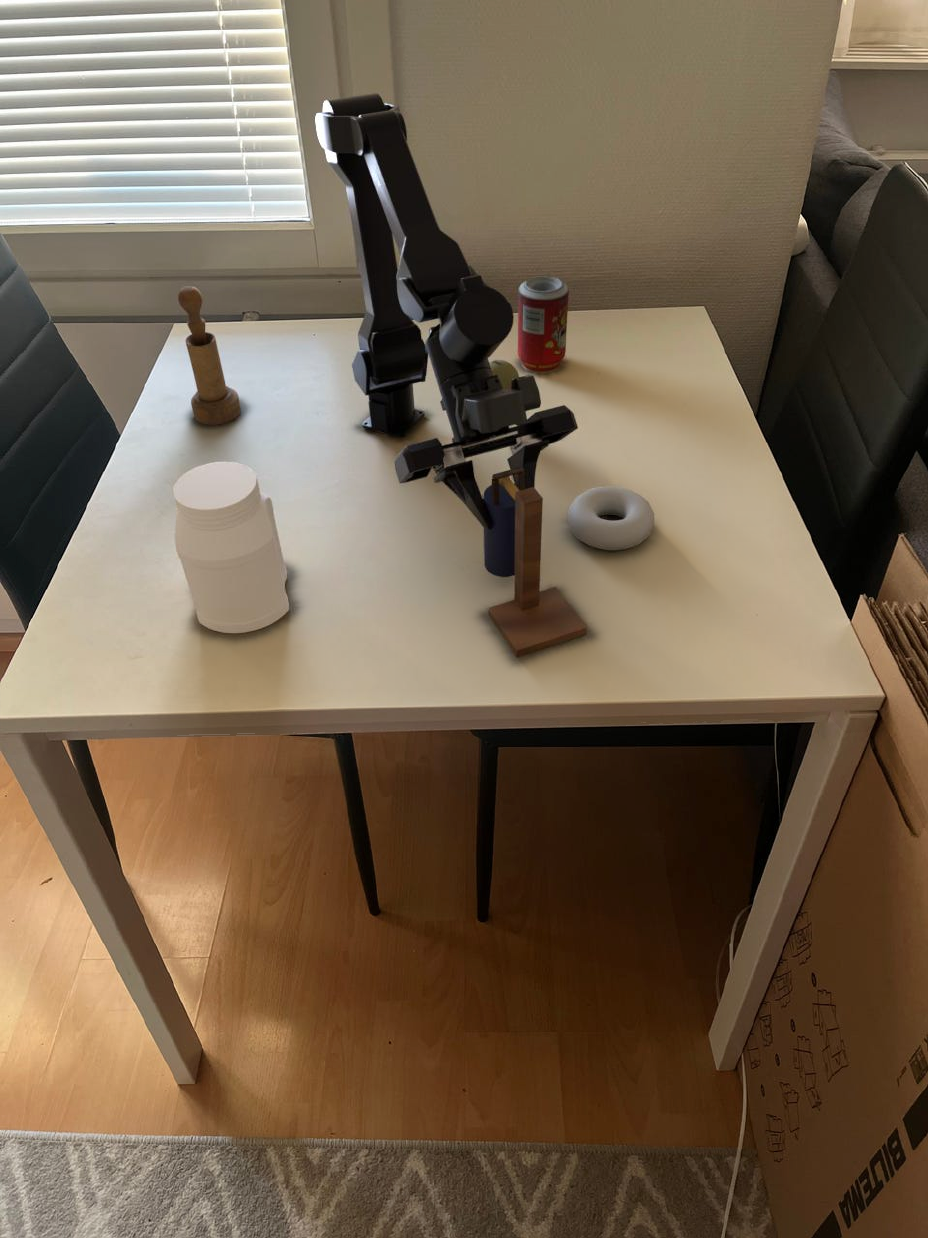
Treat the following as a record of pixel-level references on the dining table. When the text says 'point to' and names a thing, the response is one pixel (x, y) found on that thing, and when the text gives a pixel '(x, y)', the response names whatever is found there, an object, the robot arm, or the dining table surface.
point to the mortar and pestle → (206, 367)
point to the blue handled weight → (501, 525)
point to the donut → (611, 532)
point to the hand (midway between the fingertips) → (509, 523)
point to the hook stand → (532, 586)
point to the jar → (229, 548)
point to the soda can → (542, 323)
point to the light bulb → (504, 372)
